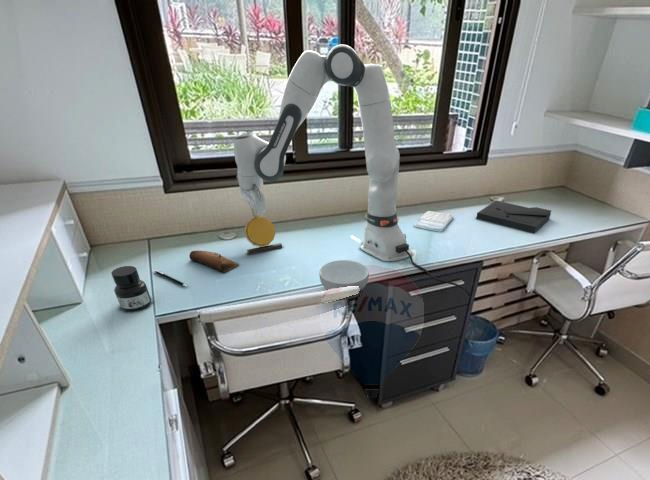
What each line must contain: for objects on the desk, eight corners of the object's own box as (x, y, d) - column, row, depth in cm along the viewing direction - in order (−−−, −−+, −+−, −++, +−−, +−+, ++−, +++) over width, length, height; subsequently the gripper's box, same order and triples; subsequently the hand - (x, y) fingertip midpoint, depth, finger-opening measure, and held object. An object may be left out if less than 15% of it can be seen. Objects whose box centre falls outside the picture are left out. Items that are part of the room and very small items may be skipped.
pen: (155, 271, 147) (154, 268, 146) (188, 286, 138) (187, 284, 138) (153, 272, 146) (152, 269, 146) (186, 287, 138) (185, 285, 137)
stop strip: (282, 247, 166) (281, 244, 165) (248, 254, 160) (247, 251, 159) (280, 246, 167) (280, 242, 166) (247, 253, 161) (246, 249, 160)
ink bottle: (118, 314, 124) (104, 280, 117) (120, 300, 131) (106, 267, 124) (153, 308, 128) (141, 274, 120) (153, 294, 134) (141, 262, 127)
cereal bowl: (350, 307, 131) (350, 288, 126) (310, 292, 138) (308, 274, 133) (377, 285, 142) (378, 267, 138) (339, 273, 149) (338, 255, 145)
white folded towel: (453, 218, 197) (453, 214, 196) (441, 232, 182) (441, 228, 181) (427, 213, 201) (427, 209, 200) (413, 227, 186) (413, 223, 185)
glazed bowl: (276, 243, 167) (279, 241, 162) (249, 249, 162) (252, 248, 157) (268, 216, 164) (271, 213, 159) (241, 221, 159) (243, 219, 155)
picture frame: (549, 218, 199) (494, 206, 212) (551, 210, 197) (496, 198, 210) (534, 233, 184) (476, 218, 197) (536, 224, 181) (477, 210, 194)
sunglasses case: (239, 263, 152) (230, 252, 147) (229, 278, 150) (219, 268, 145) (207, 251, 160) (196, 241, 154) (196, 265, 158) (185, 255, 152)
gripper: (268, 188, 146) (272, 224, 154) (251, 173, 160) (255, 207, 168) (250, 190, 143) (256, 227, 152) (235, 175, 157) (240, 210, 166)
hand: (255, 217), depth 160 cm, fingers closed
